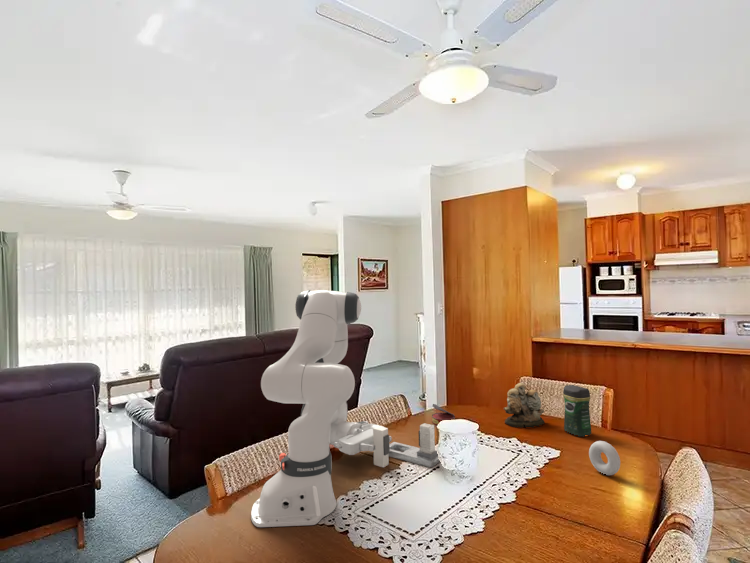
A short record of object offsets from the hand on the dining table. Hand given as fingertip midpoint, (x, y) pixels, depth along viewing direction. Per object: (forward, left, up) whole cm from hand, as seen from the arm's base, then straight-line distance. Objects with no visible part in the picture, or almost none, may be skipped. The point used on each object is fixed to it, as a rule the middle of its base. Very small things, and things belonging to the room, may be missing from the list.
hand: (382, 443), depth 141 cm
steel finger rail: (+12, +3, -7) cm, 14 cm away
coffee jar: (+81, +7, -7) cm, 82 cm away
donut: (+64, -26, -7) cm, 70 cm away
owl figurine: (+68, +24, -7) cm, 73 cm away
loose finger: (0, +1, -7) cm, 7 cm away
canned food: (+36, +35, -7) cm, 51 cm away
